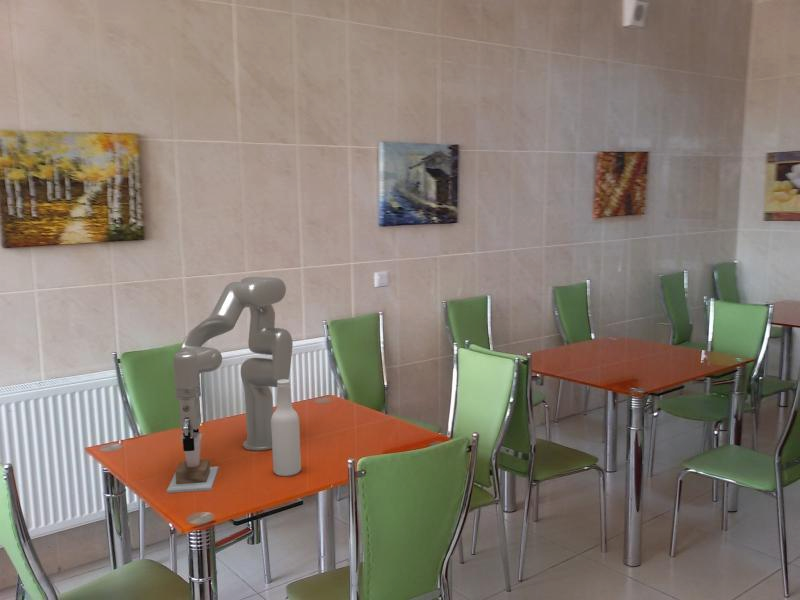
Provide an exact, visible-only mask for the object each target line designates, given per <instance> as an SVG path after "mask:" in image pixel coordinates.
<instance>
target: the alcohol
mask: <svg viewBox="0 0 800 600" xmlns="http://www.w3.org/2000/svg"><path fill="white" fill-rule="evenodd" d="M290 382H291V381H290V380H289V379H288V380H287V379H282V380H278V381H277V387H276V388H277V393H276V394H277V395H276V408H275V410H274V411H273V415H272V418H271V430H272V448H271V450H272V466H273V467H272V468H273V470H272V471H273V472H274V474H275V475H277V476H279V477H291V476H292V477H293V476H295V475H298V474H299V473H300V471H301V470H302V460H301V457H302V456H301V455H302V453H301V434H300V417H299V413H297V411H296V410H295V409H294V407H293V405H292V397H291V388H290V386H291V384H290Z"/></svg>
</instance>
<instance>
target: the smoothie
mask: <svg viewBox="0 0 800 600" xmlns="http://www.w3.org/2000/svg"><path fill="white" fill-rule="evenodd" d="M188 432H190V431H188ZM202 435H203V434H202V433H201V432H199V433H198V432H193V438H194V451H184V450H183V453H184V455H185V456H184V457H185V461H186V462H187V467H197V466H199V463H200V460H201V444H202V438H203V436H202ZM180 440H181V442H182V444H183V434H182V435H181V436H180Z"/></svg>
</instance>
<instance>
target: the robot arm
mask: <svg viewBox="0 0 800 600" xmlns="http://www.w3.org/2000/svg"><path fill="white" fill-rule="evenodd" d="M286 288H287V286H286V284H285V282H284V281H283V280H282V279H281V278H280V277H264V276H248V277H244V278H243V279H241V280H240V281H231V282H229V283H228V284H227V285H226V286H225V288H224V289H223V291H222V293H221V295H220V297H219V299H218V300H217V303H216V304H215V307H214V308H213V310H212V312H211V314H210V316H208V317H206V319H204V320H203V321H201V322H199V323H198V324H197V325H196V326H194V328H192V329H191V330H190V331H189V332H188V333H187V335H186V336H185V338H184V340H183V342H182V343H181V345H180V348H179V349H178V352H177V353H175V354H174V355H173V356H172V357H173V358H172V361H173V362H172V363H173V364H172V365H173V377H174V389H175V390H174V393H175V394H174V395H175V399H176V400H179V401H178V403H179V418H180V419H179V422H180V423H179V424H180V429H181V431H182V435H183V443H182V448H183V452H184V451H194V438H193V432H198V433H200V430H199V427H200V425H201V424H202V415H201V406H200V405H201V404H200V403H201V402H200V397H201V396H202V394H201V393H202V391H201V388H202V387H201V378H200V377H201V376H200V374H202V373H209V372H210V373H211V372H214V371H216V370H218V369H219V368H220V366H221V365H222V363H223V356H222V353H221V351H219V350H218V349H216V348H214V347H205V346H203V345H204V344H205V343H207V341H209V340H211V339H213V338H216V337H219V336H221V335H223V334H226V333H229V332H230V331H232V330H233V329H234V328H235V327H236V324H237V322H238V321H239V318H240V316H241V314H242V312H243V310H244V309H245V308H249V311H250V321H249V322H250V323H249V332H248V339H247V340H248V343H247V345H248V349H249V351H250V352H252V353H254V354H258V355H259V354H260V355H267V356H268V355H269V356H272V358H266V357H265V358H263V357H251V358H247V359H245V360H244V362H243V363H242V364H241V367H240V378H241V381H242V384H243V385H242V386H243V389H244V401H245V420H246V437H247V438H246V440H244V441H243V443H242V447H243V448H244V449H245V450H249V451H266V450H267V451H268V450H272V430H271V418H272V415H273V413H274V404H273V403H274V401H273V399H274V398H273V394H272V391H271V389H270V387H271V388H278V387H277V381H278V380H282V379H287V380H289V378H290V374H291V365H292V356H293V355H292V354H293V338H292V334H291V333H290V332H289V330H287V329H285V328H281V327H280V328H279V327H275V324H276V322H275V321H276V311H275V309H274V307H273V305H274V304H277V303H279V302H281V301H282V300H283V299H284V298H285V296H286V292H287V289H286ZM188 431H190V432H188Z"/></svg>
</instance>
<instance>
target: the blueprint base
mask: <svg viewBox="0 0 800 600" xmlns="http://www.w3.org/2000/svg"><path fill="white" fill-rule="evenodd" d="M218 471H219V466H218V465H217V466H210V459H200V463H199V466H197V467H187V462H186V460H185V461H179V463H178V466H177V468H176V470H175V473H174V475H173V477H172V478H171V481H170V483H169V485H168V487H167V489H166V493H167V494H169V493H170V494H172V493H184V492H187V493H189V492H201V491H203V492H204V491H211V490H213V486H214V483H215V481H216V480H215V479H216V477H217V474H218Z"/></svg>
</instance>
